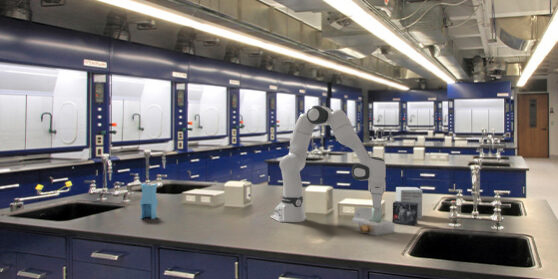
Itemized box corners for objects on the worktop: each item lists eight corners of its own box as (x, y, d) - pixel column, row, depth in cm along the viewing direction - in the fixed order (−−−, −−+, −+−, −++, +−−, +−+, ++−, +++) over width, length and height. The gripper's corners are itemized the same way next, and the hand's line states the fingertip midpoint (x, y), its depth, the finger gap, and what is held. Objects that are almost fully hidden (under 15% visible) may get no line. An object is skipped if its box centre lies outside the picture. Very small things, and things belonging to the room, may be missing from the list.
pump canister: (369, 221, 241) (369, 206, 240) (376, 220, 243) (376, 205, 243) (376, 223, 236) (376, 207, 236) (383, 222, 239) (383, 207, 239)
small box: (392, 223, 261) (392, 202, 261) (394, 221, 267) (395, 200, 267) (415, 225, 255) (415, 204, 254) (417, 223, 261) (418, 202, 260)
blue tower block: (157, 216, 276) (157, 183, 275) (152, 219, 268) (152, 185, 267) (145, 216, 276) (145, 183, 276) (140, 218, 269) (139, 185, 268)
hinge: (351, 222, 263) (354, 205, 266) (354, 223, 267) (357, 206, 269) (378, 226, 253) (380, 208, 256) (381, 227, 257) (384, 210, 259)
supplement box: (422, 219, 274) (422, 190, 273) (400, 218, 274) (400, 189, 273) (416, 214, 287) (416, 186, 286) (395, 214, 287) (395, 186, 286)
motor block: (354, 231, 239) (354, 220, 239) (377, 227, 249) (377, 217, 249) (370, 236, 229) (370, 224, 229) (394, 232, 239) (394, 220, 239)
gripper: (370, 185, 250) (370, 210, 250) (370, 190, 230) (370, 217, 230) (382, 185, 249) (382, 210, 249) (383, 190, 229) (383, 218, 229)
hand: (376, 214), depth 240 cm, fingers open, 6 cm apart
